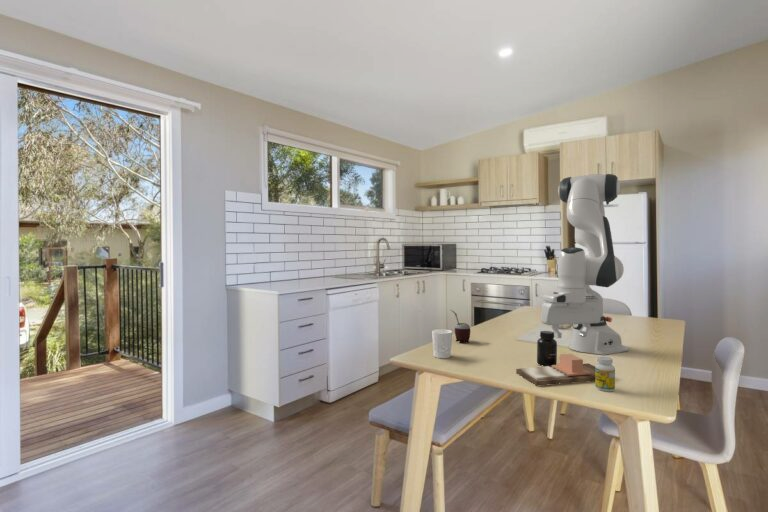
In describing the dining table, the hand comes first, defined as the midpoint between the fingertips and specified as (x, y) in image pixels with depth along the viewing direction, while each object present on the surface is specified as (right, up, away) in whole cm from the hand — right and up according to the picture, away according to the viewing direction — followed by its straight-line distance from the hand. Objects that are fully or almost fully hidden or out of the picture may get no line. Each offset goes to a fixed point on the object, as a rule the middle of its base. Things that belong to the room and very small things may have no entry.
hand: (570, 337), depth 142 cm
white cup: (-39, -13, +26) cm, 49 cm away
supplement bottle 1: (-3, -13, +14) cm, 19 cm away
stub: (0, -11, +1) cm, 11 cm away
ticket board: (-2, -13, 0) cm, 13 cm away
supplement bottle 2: (+5, -14, -12) cm, 19 cm away
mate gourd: (-28, -12, +49) cm, 57 cm away
